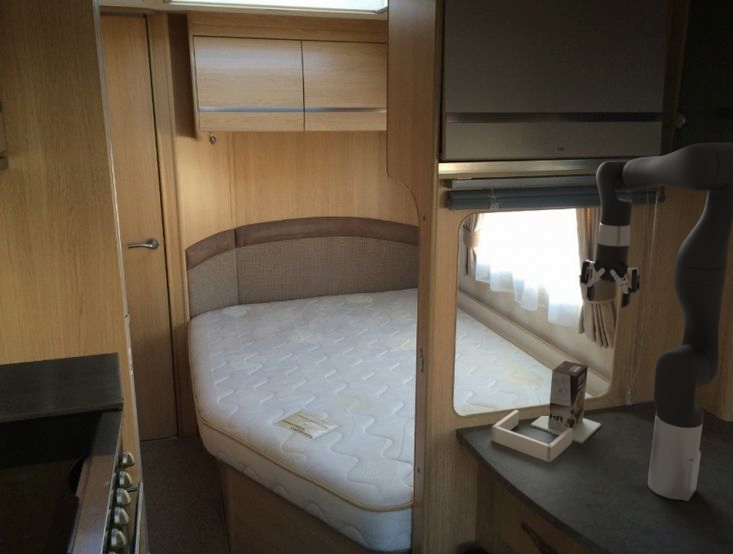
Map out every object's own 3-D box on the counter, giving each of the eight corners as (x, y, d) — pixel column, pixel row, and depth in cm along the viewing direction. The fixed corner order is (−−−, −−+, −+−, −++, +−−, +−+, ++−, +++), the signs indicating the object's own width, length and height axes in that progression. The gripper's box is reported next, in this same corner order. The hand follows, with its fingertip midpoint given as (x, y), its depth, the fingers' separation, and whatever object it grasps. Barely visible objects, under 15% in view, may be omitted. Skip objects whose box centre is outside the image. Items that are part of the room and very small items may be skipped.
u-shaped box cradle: (571, 443, 164) (572, 428, 163) (549, 462, 155) (551, 447, 154) (514, 423, 174) (515, 409, 173) (491, 440, 166) (492, 426, 165)
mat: (600, 425, 173) (601, 423, 172) (581, 443, 164) (581, 441, 164) (551, 410, 182) (551, 408, 181) (531, 425, 173) (531, 423, 173)
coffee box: (570, 434, 167) (575, 376, 163) (547, 427, 171) (551, 370, 167) (584, 421, 174) (589, 365, 170) (560, 414, 178) (565, 359, 174)
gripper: (579, 240, 164) (574, 301, 168) (636, 248, 155) (630, 312, 159) (591, 235, 170) (586, 295, 174) (647, 242, 160) (641, 305, 165)
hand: (607, 303), depth 167 cm, fingers open, 8 cm apart
